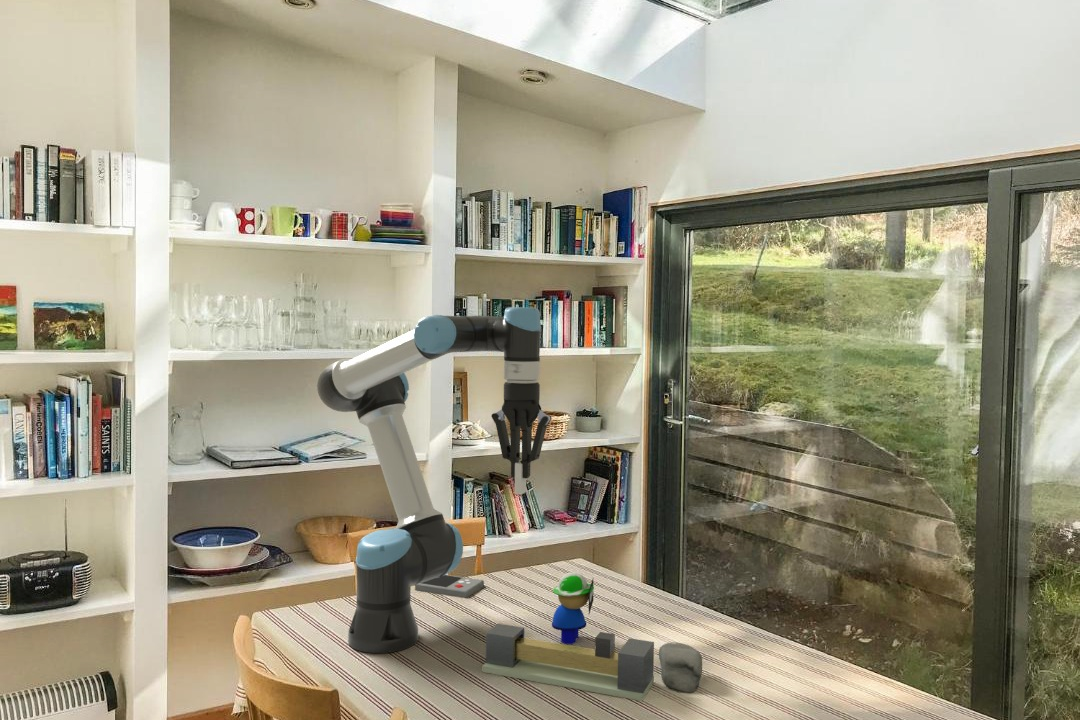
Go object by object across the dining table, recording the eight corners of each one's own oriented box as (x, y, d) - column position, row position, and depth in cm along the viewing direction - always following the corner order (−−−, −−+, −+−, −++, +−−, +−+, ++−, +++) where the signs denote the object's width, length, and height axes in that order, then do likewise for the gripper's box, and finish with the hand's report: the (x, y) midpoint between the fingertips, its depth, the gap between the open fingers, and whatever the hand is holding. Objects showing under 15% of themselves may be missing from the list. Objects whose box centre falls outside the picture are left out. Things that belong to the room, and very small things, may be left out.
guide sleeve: (485, 663, 173) (486, 633, 172) (497, 652, 178) (497, 623, 178) (512, 667, 171) (513, 637, 170) (524, 657, 176) (524, 627, 176)
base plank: (482, 671, 171) (482, 666, 171) (500, 655, 180) (500, 649, 180) (642, 700, 159) (642, 694, 159) (653, 681, 168) (653, 675, 168)
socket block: (617, 689, 162) (618, 652, 161) (628, 672, 169) (629, 638, 169) (643, 693, 160) (643, 657, 159) (653, 676, 167) (654, 641, 167)
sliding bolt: (502, 656, 173) (503, 623, 172) (509, 650, 176) (509, 617, 175) (637, 679, 163) (638, 644, 162) (641, 673, 166) (642, 638, 165)
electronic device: (466, 590, 216) (414, 582, 221) (466, 600, 216) (414, 592, 221) (484, 579, 225) (434, 572, 231) (484, 588, 226) (434, 580, 231)
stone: (652, 689, 164) (657, 635, 168) (657, 693, 172) (661, 641, 176) (700, 696, 162) (703, 641, 166) (702, 699, 170) (706, 647, 174)
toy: (590, 648, 184) (591, 580, 183) (548, 644, 186) (549, 577, 185) (595, 633, 193) (596, 568, 192) (555, 630, 195) (556, 565, 194)
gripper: (485, 381, 177) (484, 493, 178) (544, 383, 172) (542, 499, 173) (500, 378, 184) (499, 487, 185) (557, 381, 179) (555, 492, 180)
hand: (520, 493), depth 179 cm, fingers closed
